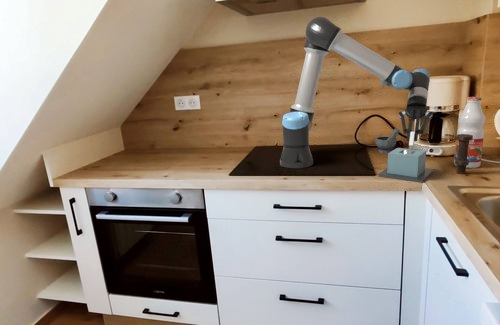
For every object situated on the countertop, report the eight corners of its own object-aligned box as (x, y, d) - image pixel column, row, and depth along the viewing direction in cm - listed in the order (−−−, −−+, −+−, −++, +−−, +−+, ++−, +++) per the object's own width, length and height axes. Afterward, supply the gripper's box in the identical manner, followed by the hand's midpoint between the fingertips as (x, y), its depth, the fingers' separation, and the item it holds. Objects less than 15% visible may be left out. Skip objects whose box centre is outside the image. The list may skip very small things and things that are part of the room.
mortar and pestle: (373, 153, 172) (374, 129, 169) (376, 149, 180) (377, 126, 177) (397, 154, 167) (399, 130, 164) (399, 150, 175) (401, 127, 172)
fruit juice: (480, 163, 145) (488, 96, 138) (480, 169, 138) (488, 98, 131) (454, 161, 150) (460, 96, 143) (452, 167, 143) (459, 98, 136)
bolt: (454, 170, 138) (458, 133, 134) (469, 172, 135) (473, 134, 131) (451, 174, 134) (455, 136, 130) (466, 176, 131) (471, 137, 127)
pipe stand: (378, 176, 136) (379, 151, 134) (392, 166, 148) (393, 143, 145) (422, 182, 126) (424, 156, 124) (433, 171, 138) (435, 147, 135)
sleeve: (387, 173, 136) (388, 153, 134) (396, 166, 144) (397, 147, 142) (417, 177, 129) (418, 156, 127) (424, 170, 137) (426, 150, 135)
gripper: (434, 106, 147) (429, 153, 137) (401, 106, 153) (394, 151, 143) (434, 94, 141) (429, 142, 131) (400, 95, 147) (392, 141, 138)
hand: (411, 147), depth 137 cm, fingers closed
